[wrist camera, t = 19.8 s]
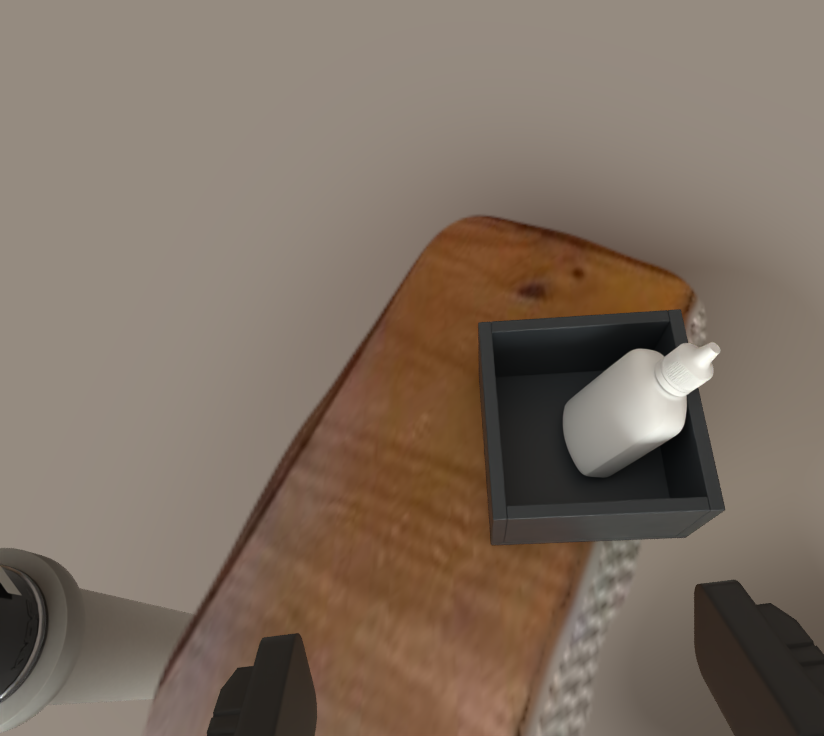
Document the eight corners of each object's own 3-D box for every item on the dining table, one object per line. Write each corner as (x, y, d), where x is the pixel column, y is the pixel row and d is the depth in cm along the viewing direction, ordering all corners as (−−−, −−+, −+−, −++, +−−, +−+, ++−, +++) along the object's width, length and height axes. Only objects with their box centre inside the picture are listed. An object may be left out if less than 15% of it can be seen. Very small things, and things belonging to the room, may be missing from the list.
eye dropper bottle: (618, 426, 47) (750, 334, 38) (603, 490, 43) (745, 407, 34) (566, 393, 47) (687, 293, 37) (546, 456, 43) (675, 362, 34)
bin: (490, 545, 44) (492, 520, 37) (478, 372, 50) (478, 322, 43) (686, 537, 43) (725, 510, 36) (651, 362, 49) (680, 309, 42)
